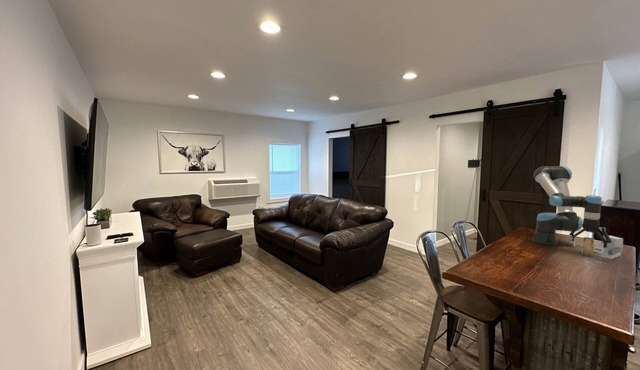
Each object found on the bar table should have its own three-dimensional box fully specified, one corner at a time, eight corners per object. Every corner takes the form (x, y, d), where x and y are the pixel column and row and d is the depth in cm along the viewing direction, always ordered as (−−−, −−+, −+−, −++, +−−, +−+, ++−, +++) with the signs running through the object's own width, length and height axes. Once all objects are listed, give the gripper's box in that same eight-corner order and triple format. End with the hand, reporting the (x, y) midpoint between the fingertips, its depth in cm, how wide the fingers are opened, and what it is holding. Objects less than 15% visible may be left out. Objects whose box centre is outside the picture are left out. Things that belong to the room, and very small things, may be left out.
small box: (622, 253, 181) (623, 238, 180) (613, 253, 181) (615, 238, 180) (609, 249, 189) (611, 235, 188) (601, 249, 189) (603, 235, 188)
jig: (581, 251, 184) (581, 244, 183) (590, 248, 190) (591, 241, 190) (611, 259, 170) (612, 251, 170) (620, 255, 177) (621, 247, 176)
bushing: (580, 254, 178) (582, 237, 177) (583, 253, 180) (585, 236, 179) (590, 257, 173) (592, 239, 172) (593, 256, 176) (595, 238, 174)
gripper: (564, 215, 184) (562, 244, 186) (616, 222, 161) (612, 256, 163) (569, 214, 187) (567, 243, 189) (621, 221, 165) (617, 254, 167)
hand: (588, 249), depth 176 cm, fingers open, 13 cm apart
